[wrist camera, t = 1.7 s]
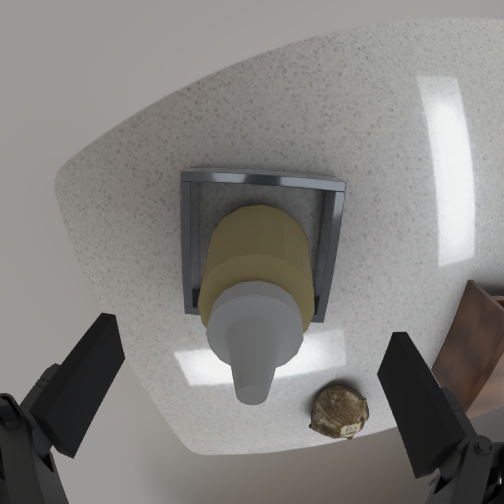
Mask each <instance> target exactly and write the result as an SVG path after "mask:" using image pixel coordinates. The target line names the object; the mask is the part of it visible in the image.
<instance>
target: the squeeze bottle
mask: <svg viewBox="0 0 504 504" xmlns="http://www.w3.org/2000/svg"><path fill="white" fill-rule="evenodd" d="M198 308H199V312H200V316H201V320H202V323H203V324H204V326H205V327H206V328H207V331H206V335H207V339H208V342H209V346H210V348H211V349H212V351H213V352H214V353H215V354H216V355H217V357H218V358H219V359H220V360H221V361H223V362H225V363H227V364H229V365H230V366H231V369H232V375H233V380H234V386H235V391H236V396H237V399H238V400H239V401H240V402H242V403H244V404H247V405H258V404H261V403H263V402H264V401H265V400H266V398H267V396H268V393H269V389H270V386H271V383H272V379H273V376H274V372H275V369H276V368H277V367H279V366H282V365H284V364H286V363H287V362H288V361H289V360H290V359H291V358H293V357H294V356H295V355H296V354H297V353H298V351H299V348H300V346H301V344H302V342H303V333H304V332H305V331H306V330H307V329H308V326H309V324H310V322H311V320H312V317H313V315H314V312H315V308H314V290H313V280H312V271H311V262H310V253H309V245H308V239H307V237H306V235H305V233H304V231H303V229H302V228H301V226H300V224H299V222H298V221H296V220H295V219H294V218H292V217H291V216H290V215H289V214H287V213H286V212H285V211H283V210H281V209H278V208H274V207H270V206H267V205H263V204H261V205H253V206H245V207H241V208H239V209H237V210H235V211H234V212H232V213H230V214H228V215H227V216H225V217H223V219H222V220H221V221H220V223H219V224H218V226H217V227H216V228H215V230H214V231H213V232H212V235H211V240H210V245H209V249H208V254H207V259H206V264H205V268H204V273H203V278H202V283H201V289H200V294H199V299H198Z"/></svg>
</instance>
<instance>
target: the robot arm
mask: <svg viewBox="0 0 504 504" xmlns="http://www.w3.org/2000/svg"><path fill="white" fill-rule="evenodd" d="M124 360H125V356H124V352H123V347H122V343H121V339H120V334H119V330H118V325H117V320H116V315H113V314H107V313H101V315H100V316H99V317H98V318H97V319H96V321H95V322H94V323H93V324H92V326H91V327H90V328H89V329H88V331H87V332H86V333H85V335H84V336H83V337H82V338H81V340H80V341H79V342H78V343H77V345H76V346H75V347H74V348H73V350H72V351H71V352H70V354H69V355H68V356H67V357H66V359H65V360H64V361H63V363H62V364H61V365H59V364H56V363H55V364H53V365H52V366H51V367H49V368H47V369H46V370H45V372H44V373H43V374H42V376H41V377H40V379H38V381H37V382H36V383H35V385H34V386H33V388H32V389H31V390H30V392H29V393H28V394H27V396H26V397H25V398H24V400H23V401H22V403H21V404H20V406H19V405H18V404H17V402H16V401H15V399H14V398H13V397H12V396H11V395H10V394H7V393H1V394H0V504H69V502H68V500H67V497H66V495H65V492H64V489H63V487H62V484H61V481H60V478H59V475H58V472H57V468H56V465H55V462H54V458H53V455H52V453H51V451H50V449H51V447H52V445H53V446H54V447H55V448H56V450H57V451H58V452H60V453H61V454H64V455H66V456H68V457H71V458H74V456H75V454H76V452H77V450H78V448H79V446H80V444H81V442H82V440H83V438H84V436H85V434H86V432H87V430H88V428H89V426H90V424H91V422H92V420H93V418H94V416H95V414H96V412H97V410H98V408H99V406H100V404H101V402H102V401H103V398H104V397H105V395H106V393H107V391H108V389H109V387H110V385H111V383H112V382H113V380H114V378H115V376H116V374H117V372H118V370H119V369H120V367H121V365H122V364H123V361H124ZM377 375H378V378H379V380H380V383H381V385H382V388H383V390H384V393H385V395H386V398H387V400H388V403H389V405H390V408H391V410H392V413H393V416H394V418H395V421H396V424H397V426H398V429H399V432H400V434H401V437H402V440H403V443H404V445H405V448H406V451H407V454H408V457H409V460H410V463H411V465H412V469H413V472H414V475H415V478H416V479H417V478H420V477H423V476H427V475H430V474H432V473H433V472H434V471H435V470H436V469H437V468H438V467H439V470H440V473H439V474H438V475H437V476H436V477H435V478H434V479H433V480H432V481H431V482H430V483H429V484H428V485H429V486H430V485H432V484H433V483H434V485H433V487H432V489H431V492H430V494H429V496H428V498H427V500H426V502H425V504H504V442H499V443H492V442H491V441H490V440H489V439H488V438H487V437H485V436H481V435H479V436H478V435H477V434H476V432H475V430H474V428H473V426H472V424H471V423H470V421H469V419H468V417H467V415H466V414H465V412H464V411H463V408H462V406H461V405H460V404H459V401H458V399H457V398H456V396H455V394H454V393H453V392H452V391H451V390H449V389H448V388H447V387H441V388H440V386H439V385H438V383H437V381H436V379H435V378H434V376H433V374H432V373H431V371H430V369H429V368H428V366H427V364H426V363H425V361H424V359H423V358H422V356H421V354H420V353H419V351H418V350H417V348H416V346H415V345H414V343H413V342H412V340H411V339H410V337H409V335H408V334H407V332H393V333H392V336H391V339H390V342H389V345H388V347H387V350H386V353H385V355H384V358H383V360H382V363H381V365H380V368H379V370H378V373H377ZM500 479H501V484H500Z"/></svg>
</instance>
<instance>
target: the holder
mask: <svg viewBox="0 0 504 504" xmlns="http://www.w3.org/2000/svg"><path fill="white" fill-rule="evenodd" d="M200 182H220V183H241V184H258V185H273V186H287V187H299V188H310V189H321V190H326V193H325V202H324V210H323V219H322V227H321V234H320V242H319V249H318V256H317V263H316V270H315V276H314V283H313V290H314V308H315V312H314V315H313V317H312V320H311V322H319V323H323V322H324V318H325V313H326V308H327V303H328V298H329V293H330V288H331V282H332V277H333V271H334V265H335V260H336V254H337V247H338V241H339V234H340V228H341V221H342V213H343V206H344V198H345V189H346V182H345V181H343V180H341V179H339V178H337V177H335V176H326V175H317V174H307V173H296V172H284V171H270V170H255V169H236V168H208V167H191V168H188V169H186V170H183V171H181V247H182V273H183V293H184V309H185V314H192V315H200V312H199V308H198V299H199V294H200V258H199V200H200Z"/></svg>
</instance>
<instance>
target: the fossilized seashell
mask: <svg viewBox="0 0 504 504" xmlns="http://www.w3.org/2000/svg"><path fill="white" fill-rule="evenodd" d="M311 415H312V416H311V424H310V425H309V428H311V429H313V430H314V431H316V432H319V433H320V434H322V435H325V436H329V437H331V438H333V439H336V438H346V437H347V439H348V440H351V439H352V438H353V436H354V434H356V433H358V432H359V431H360V430H361V429H362V428H363V427H364V423H365V421H367V420H368V418H369V409H368V405H367V402H366V398H364V397H363V396H362V395H361V394H359V393H358V392H357V391H355V390H354V389H349V388H346V387H344V386H331V387H328V388H326V389H325V390H323V391H322V392H321V393H320V394H319V395H318V396H317V399H316V401H315V402H314V406H313V410H312V414H311Z"/></svg>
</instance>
